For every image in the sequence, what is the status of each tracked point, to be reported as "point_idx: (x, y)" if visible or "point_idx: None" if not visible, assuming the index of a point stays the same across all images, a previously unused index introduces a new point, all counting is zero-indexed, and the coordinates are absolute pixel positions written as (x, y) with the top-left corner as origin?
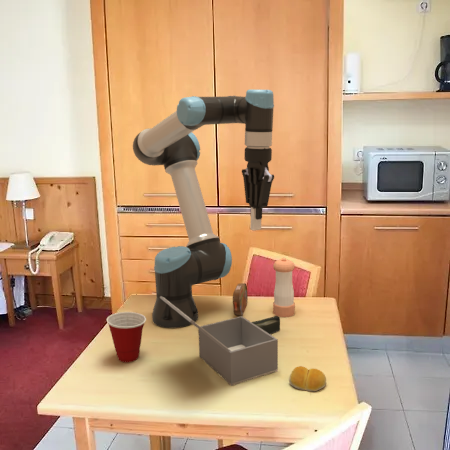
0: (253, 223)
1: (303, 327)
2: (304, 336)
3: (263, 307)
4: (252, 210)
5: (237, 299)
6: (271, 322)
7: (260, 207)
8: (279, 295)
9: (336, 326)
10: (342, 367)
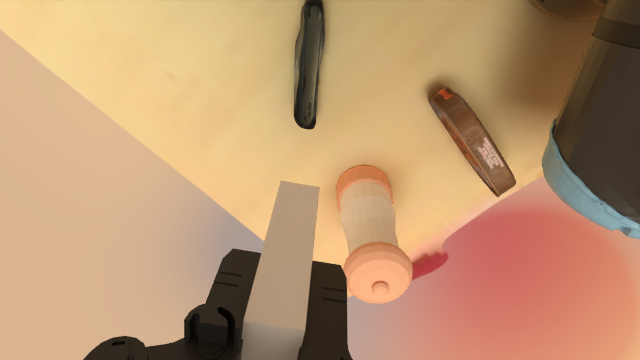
0: (273, 212)
1: (272, 161)
2: (234, 128)
3: (424, 179)
4: (276, 300)
5: (448, 107)
6: (294, 91)
7: (147, 350)
8: (361, 197)
9: (229, 211)
10: (64, 72)
